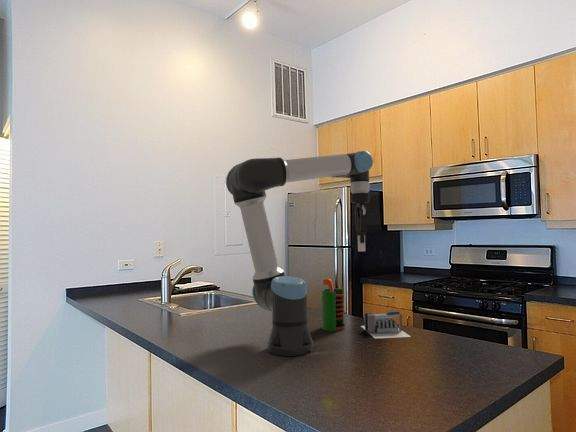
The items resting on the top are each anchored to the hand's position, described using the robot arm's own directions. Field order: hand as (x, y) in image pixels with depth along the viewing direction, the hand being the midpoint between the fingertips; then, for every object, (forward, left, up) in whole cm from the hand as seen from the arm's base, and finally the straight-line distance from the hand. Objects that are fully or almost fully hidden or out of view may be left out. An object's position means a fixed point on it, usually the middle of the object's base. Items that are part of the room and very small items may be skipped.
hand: (361, 251), depth 165 cm
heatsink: (-12, -4, -29) cm, 32 cm away
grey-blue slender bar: (-12, -4, -24) cm, 27 cm away
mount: (-12, -4, -29) cm, 32 cm away
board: (-12, -4, -30) cm, 33 cm away
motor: (-4, +13, -30) cm, 33 cm away
